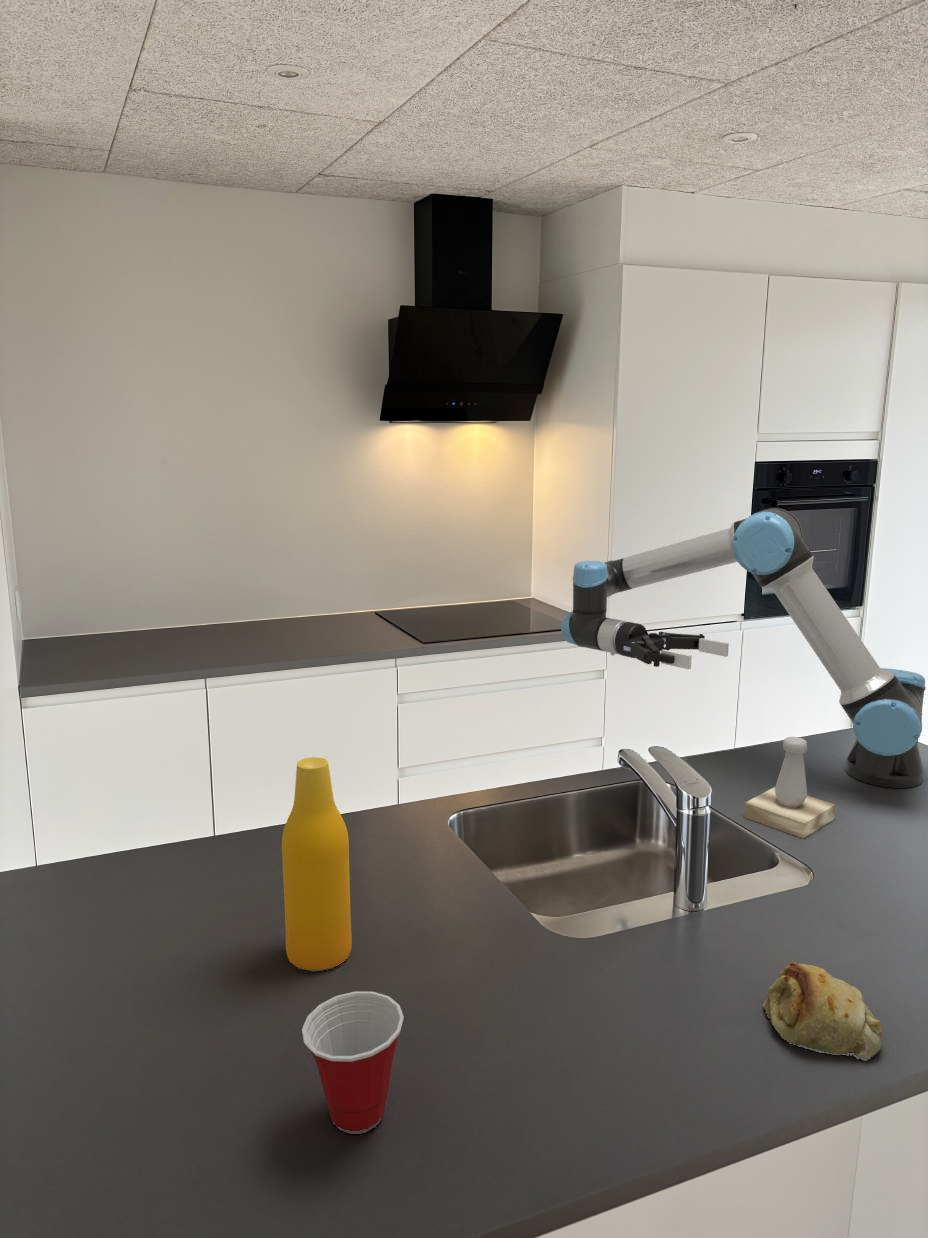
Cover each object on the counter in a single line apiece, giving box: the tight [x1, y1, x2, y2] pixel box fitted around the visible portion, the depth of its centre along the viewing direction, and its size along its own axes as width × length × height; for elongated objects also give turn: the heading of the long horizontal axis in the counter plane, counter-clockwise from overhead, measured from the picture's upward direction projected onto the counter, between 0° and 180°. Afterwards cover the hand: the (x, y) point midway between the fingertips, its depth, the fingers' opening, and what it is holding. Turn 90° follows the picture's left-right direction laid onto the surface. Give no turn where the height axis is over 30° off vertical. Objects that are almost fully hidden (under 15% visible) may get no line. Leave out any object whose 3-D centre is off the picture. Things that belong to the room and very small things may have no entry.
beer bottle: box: [281, 756, 353, 970], centre depth 125 cm, size 9×9×29 cm
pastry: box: [762, 961, 884, 1059], centre depth 112 cm, size 14×12×8 cm
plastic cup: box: [301, 991, 404, 1131], centre depth 97 cm, size 11×11×12 cm
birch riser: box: [743, 785, 836, 840], centre depth 171 cm, size 12×12×3 cm
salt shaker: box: [774, 736, 808, 808], centre depth 170 cm, size 6×6×13 cm
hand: (709, 656), depth 181 cm, fingers open, 13 cm apart
